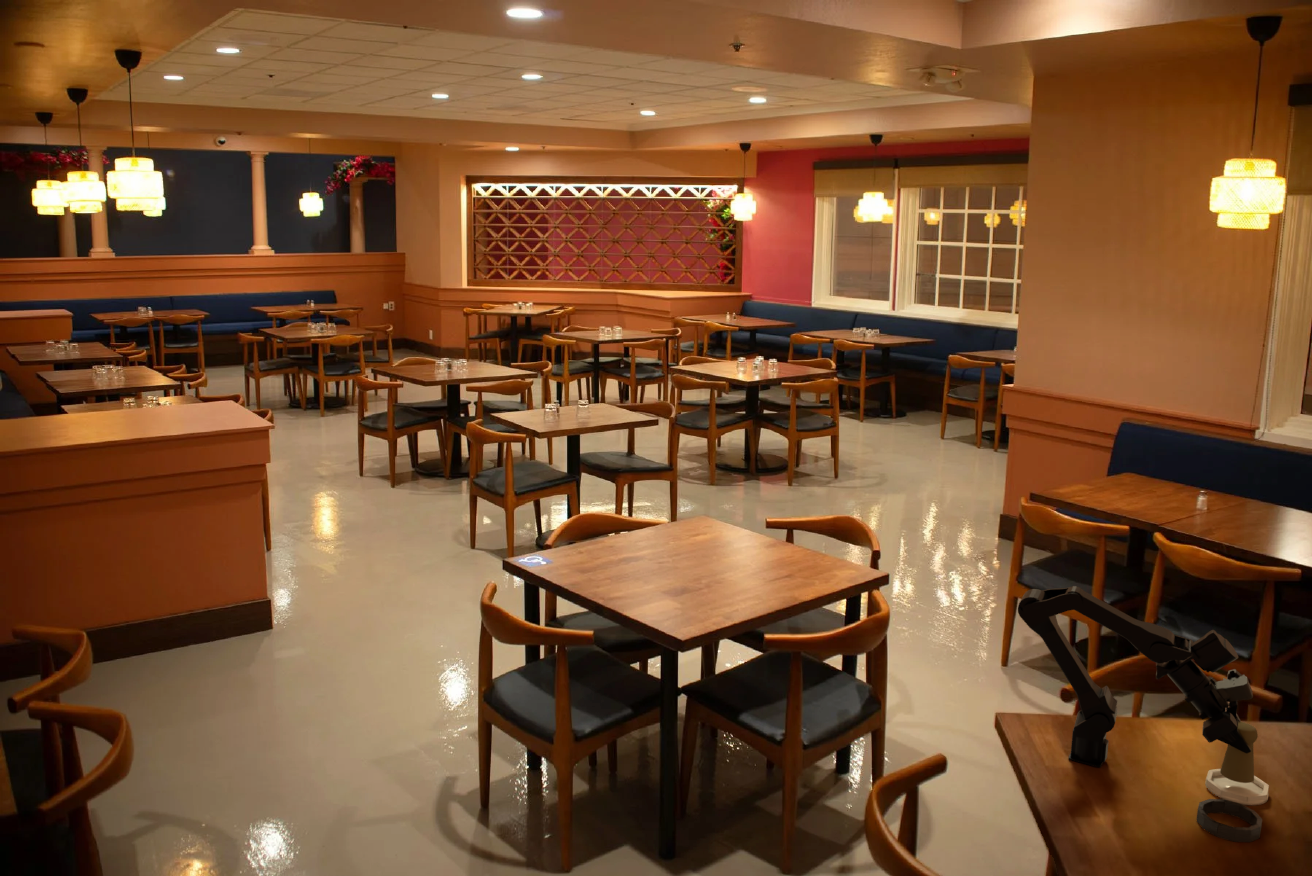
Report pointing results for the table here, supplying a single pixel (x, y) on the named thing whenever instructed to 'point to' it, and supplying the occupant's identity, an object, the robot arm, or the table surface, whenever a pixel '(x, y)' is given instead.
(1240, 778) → the cork
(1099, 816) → the table surface
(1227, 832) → the dark grey ring
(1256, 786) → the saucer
